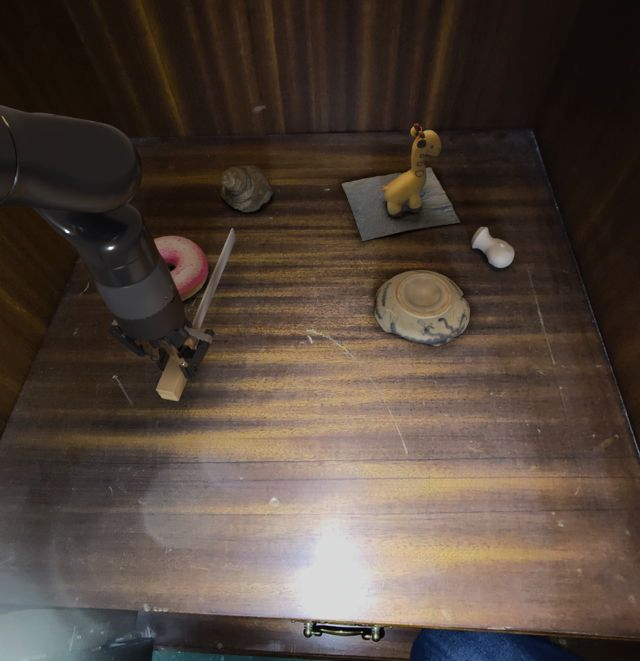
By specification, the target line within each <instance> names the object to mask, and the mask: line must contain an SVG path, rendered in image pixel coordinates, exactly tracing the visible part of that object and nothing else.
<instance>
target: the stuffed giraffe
mask: <svg viewBox="0 0 640 661" xmlns="http://www.w3.org/2000/svg"><path fill="white" fill-rule="evenodd" d="M410 135H411V136H412V137H415V139H414V141H413V143H412V147H411V155H410V164H411V168H410V169H409V170H407V171H406V172H395V173H390V174H386V175H385V174H383V175H376V176H372V177H367V178H361V179H357V180H352V181H347V182H343V183H341V186H342V190H343V191H344V193H345V195H346V197H347V201H348V204H349V207H350V209H351V212H352V215H353V218H354V220H355V223H356V226H357V229H358V231H359V235H360V237H361V241H362V242H365V241H369V240H372V239H377V238H381V237H384V236H385V237H386V236H390V235H393V234H398V233H403V232H407V231H412V230H418V229H424V228H430V227H437V226H443V225H444V226H447V225H455V224H461V221H460V219H459V217H458V215H457V214H456V212H455V210H454V207H453V204H452V202H451V201H450V199H449V197H448V195H447V194H446V191H445V190H444V189H443V186H442V185H441V183H440V180H438V178H437V176H436V175H435V173H434V171H433V168H432V167H426V164H425V156H426V155H428V156H431V157H437V156H439V154H440V153H441V152H442V142H441V139H440V137H439V135H438V134H437V133H436V132H435V131H434V130H432V129H426V130H423V127H422V126H421V125H420V124H419V123H414V124H413V126H412V127H411V129H410Z"/></svg>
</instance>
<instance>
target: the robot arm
mask: <svg viewBox="0 0 640 661" xmlns="http://www.w3.org/2000/svg"><path fill="white" fill-rule="evenodd" d="M142 180H143V163H142V158H141V156H140V153H139V151H138V149H137V147H136V146H135V144H134V143H133V141H132V140H131V139H130V137H129V136H128V135H127V134H126V133H124V132H123V131H122V130H121V129H119V128H117V127H116V126H113V125H111V124H108V123H105V122H100V121H95V120H90V119H89V120H88V119H83V118H79V117H77V118H76V117H71V116H66V115H59V114H54V113H50V112H49V113H47V112H27V111H23V110H19V109H15V108H12V107H9V106H5V105H2V104H0V208H5V207H6V208H8V207H9V208H11V207H13V208H14V207H15V208H16V207H17V208H19V207H23V208H32V209H33V210H34V211H35V212H36V213H37V214H38V215H39V216H40V217H41V218H42V219H43V220H44V221H45V222H46V223H47V224H48V225H49V226H50V227H51V228H52V229H53V230H54V231H55V232H56V233H57V234H58V235H59V236H61V237H62V238H63V239H64V240H65V241H67V242H68V243H69V244H70V245H71V246H72V247H73V248H74V250H75V251H76V253H77V254H78V256H79V258H80V260H81V262H82V263H83V265H84V266H85V268H86V269H87V271H88V273H89V275H90V276H91V278H92V280H93V282H94V285H95V287H96V290H97V292H98V294H99V297H100V298H101V299H102V301H103V302H104V304H105V306H106V307H107V309H108V310H109V312H110V313H111V315H112V317H113V320H112V323H111V324H110V325H109V328H108V330H107V333H108V334H109V335H110V336H112V337H113V338H115V339H116V340H117V341H118V342H120V343H121V344H122V345H123V346H124V347H126V348H127V349H129V350H130V351H131V352H132V353H134V354H135V355H136V356H137V357H141V358H145V357H146V356H148V357H149V360H150V361H152V362H155V364H156V365H157V367H158V369H159V370H160V371H161V372H163V371H164V369H165V367H166V365H167V362H168V360H169V358H170V357H171V358H174V359H176V361H177V362H178V363H179V367H180V369H181V371H182V372H183V374H184V376H185V378H186V379H187V380H192V378H193V377H195V376H196V373H197V371H198V369H199V367H200V366H201V364H202V363H203V360H204V359H205V357H206V355H207V353H208V351H209V349H210V346H211V344H212V342H213V339H214V337H215V331H214V330H213V329H210V328H206V329H205V330H204V332H203V331H200V330H199V331H198V330H195V329H193V325H192V322H191V321H190V320H189V319H188V318H187V317H186V314H185V313H186V312H185V306H184V305H185V304H184V300H183V301H182V299H181V297H180V294H179V292H178V290H177V287H176V285H175V282H174V280H173V278H172V275H171V273H170V272H171V269H170V267H168V266H167V264H166V262H165V260H164V258H163V257H162V255H161V254H160V252H159V250H158V248H157V246H156V244H155V241H154V239H155V238H154V237H153V235H152V231H151V229H150V227H149V225H148V222H147V220H146V219H145V217H144V216H143V213H141V212H140V210H138V209H137V208H136V207H135V206H133V205H132V204H130V203H129V202H130V201H132V200H133V198H134V197H135V196H136V194H137V193H138V191H139V189H140V187H141V183H142ZM190 339H191V340H192V341H193V344H194V348H193V347H192V345H191V344H190V342H189V340H190ZM136 340H137V341H138V342H139V345H138V344H136Z"/></svg>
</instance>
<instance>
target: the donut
mask: <svg viewBox="0 0 640 661" xmlns="http://www.w3.org/2000/svg"><path fill="white" fill-rule="evenodd" d="M153 239H154V241H155V244H156V246H157V248H158V250H159V252H160V254H161V255H162V257H163V258H164V260H165V262H166V264H167V266H168V268H171V267H174V269H173V270H170V273H171V275H172V278H173V280H174V282H175V285H176V287H177V290H178V292H179V294H180V297H181V299H182V301H183V302H184V301H185V300H187V299H190V298H191V297H192V296H195V294H197V293H198V292H199V291H200V290H201V289H202V288H203V287H204V285H205V283H206V282H207V278H208V275H209V263H208V260H207V257H206V254H205V252H204V251H203V249H202V248H201V247H200V246H199V245H198V244H197V243H195V242H194V241H192V240H191V239H188V238H187V237H184V236H179V235H165V236H160V237H157V238H153Z"/></svg>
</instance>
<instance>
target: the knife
mask: <svg viewBox="0 0 640 661" xmlns="http://www.w3.org/2000/svg"><path fill="white" fill-rule="evenodd" d="M236 240H237V237H236V233H235V230H234V228H233V227H232V228H231V229H230V231H229V233H228V236H227V238H226V241H225V243H224V246H223V248H222V250H221V252H220V255H219V258H218V260H217V262H216V264H215V267H214V269H213V272H212V274H211V276H210V279H209V282H208V284H207V286H206V289H205V291H204V293H203V296H202V299H201V301H200V303H199V305H198V308H197V310H196V313H195V315H194V317H193V320H192V322H191V323H192V325H193V329H195V330H198V331H200V330H201V327H202V325H203V322H204V319H205V317H206V315H207V313H208V309H209V308H210V304H211V302H212V300H213V297H214V295H215V292H216V290H217V287H218V285H219V283H220V280H221V278H222V275H223V272H224V270H225V267H226V265H227V262H228V260H229V258H230V255H231V252H232V251H233V248H234V245H235V243H236ZM189 342H190V344H191V345H192V347H193V348H194V344H193V341H192V340H191V339H190V340H189ZM187 381H188V379H186V378H185V376H184V374H183V372H182V371H181V369H180V367H179V363H178V362H177V361H176V359H174V358H171V357H170V358H169V360H168V362H167V365H166V367H165V369H164V371H162V374H161V376H160V378H159V382H158V383H157V386H156V387H155V391H156V392H157V394H158V395H159V396H160V398H161V399H164V400H168V401H169V400H170V401H176V402H179V401H180V399H181V397H182V393H183V392H184V388H185V385H186V383H187Z"/></svg>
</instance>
